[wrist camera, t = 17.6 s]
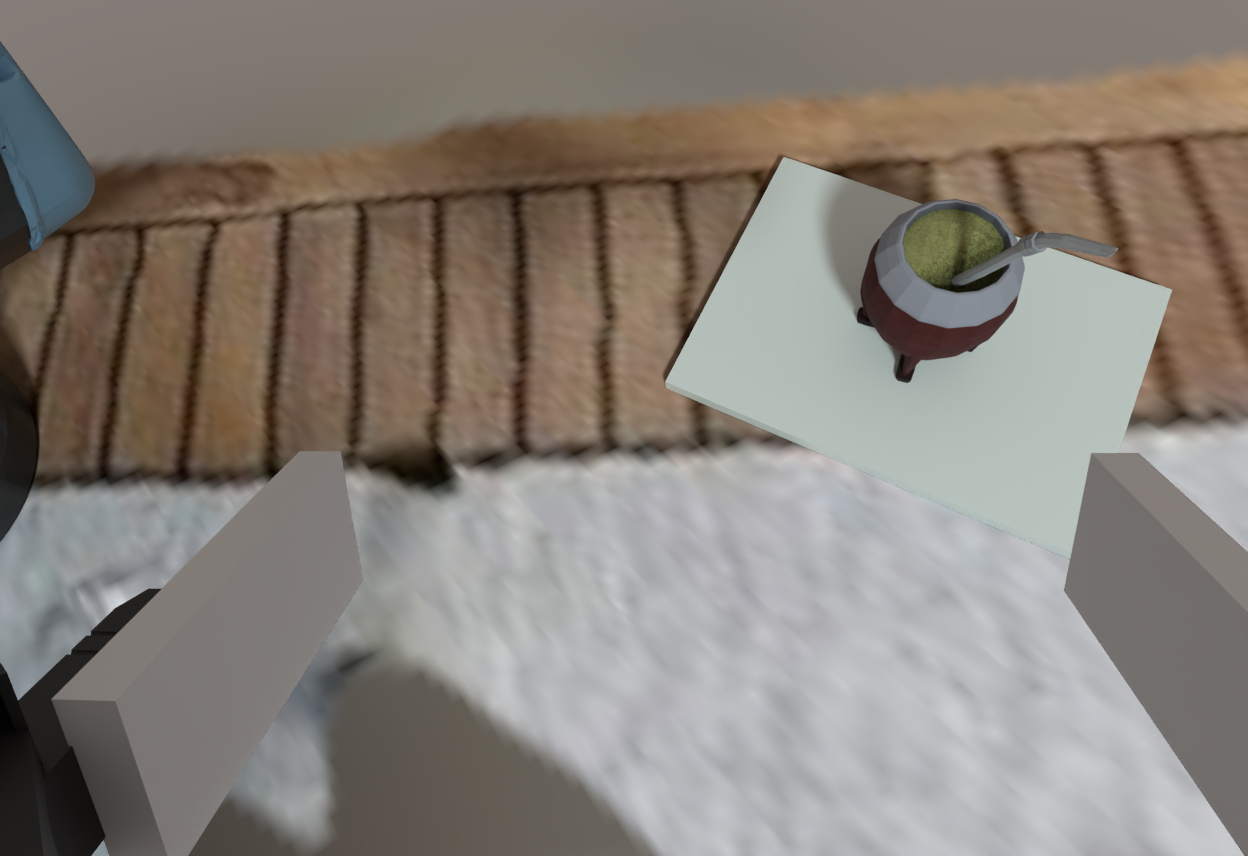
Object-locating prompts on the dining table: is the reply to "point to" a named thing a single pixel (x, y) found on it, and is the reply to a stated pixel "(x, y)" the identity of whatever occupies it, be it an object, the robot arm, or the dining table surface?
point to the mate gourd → (949, 279)
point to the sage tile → (921, 363)
